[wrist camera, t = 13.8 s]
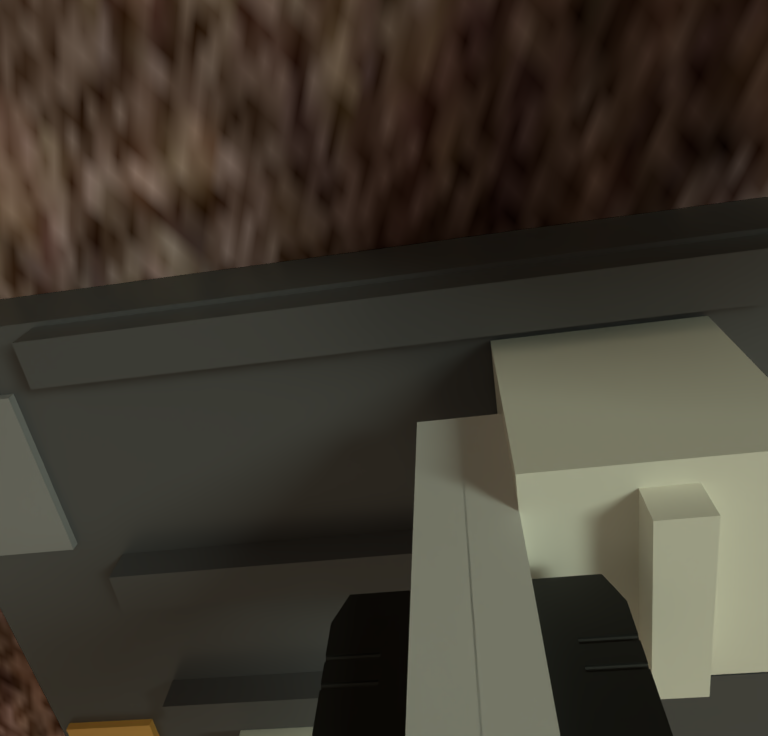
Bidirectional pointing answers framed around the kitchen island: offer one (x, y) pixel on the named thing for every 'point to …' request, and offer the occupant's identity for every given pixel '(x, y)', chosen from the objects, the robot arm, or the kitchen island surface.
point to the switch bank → (293, 451)
